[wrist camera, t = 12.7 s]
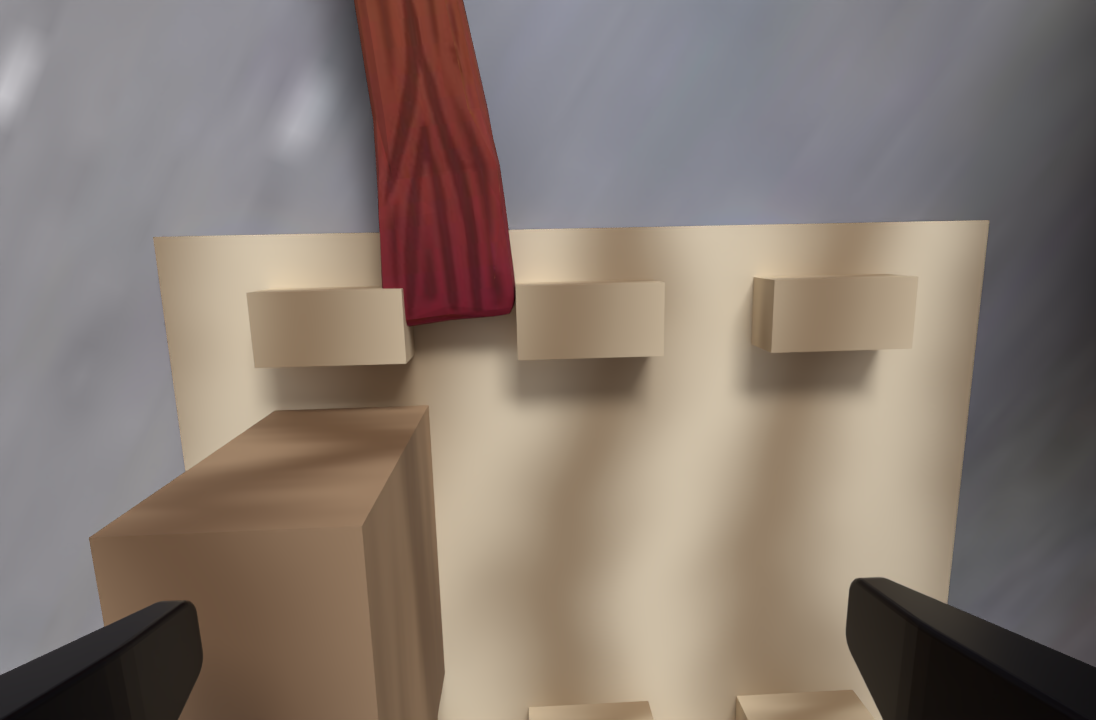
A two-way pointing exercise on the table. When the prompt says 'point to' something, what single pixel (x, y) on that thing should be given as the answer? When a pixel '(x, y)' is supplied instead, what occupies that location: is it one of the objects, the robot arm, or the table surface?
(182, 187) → the table surface
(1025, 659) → the robot arm
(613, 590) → the birch notch board
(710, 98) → the table surface
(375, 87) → the sign
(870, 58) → the table surface
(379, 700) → the brown wooden box
